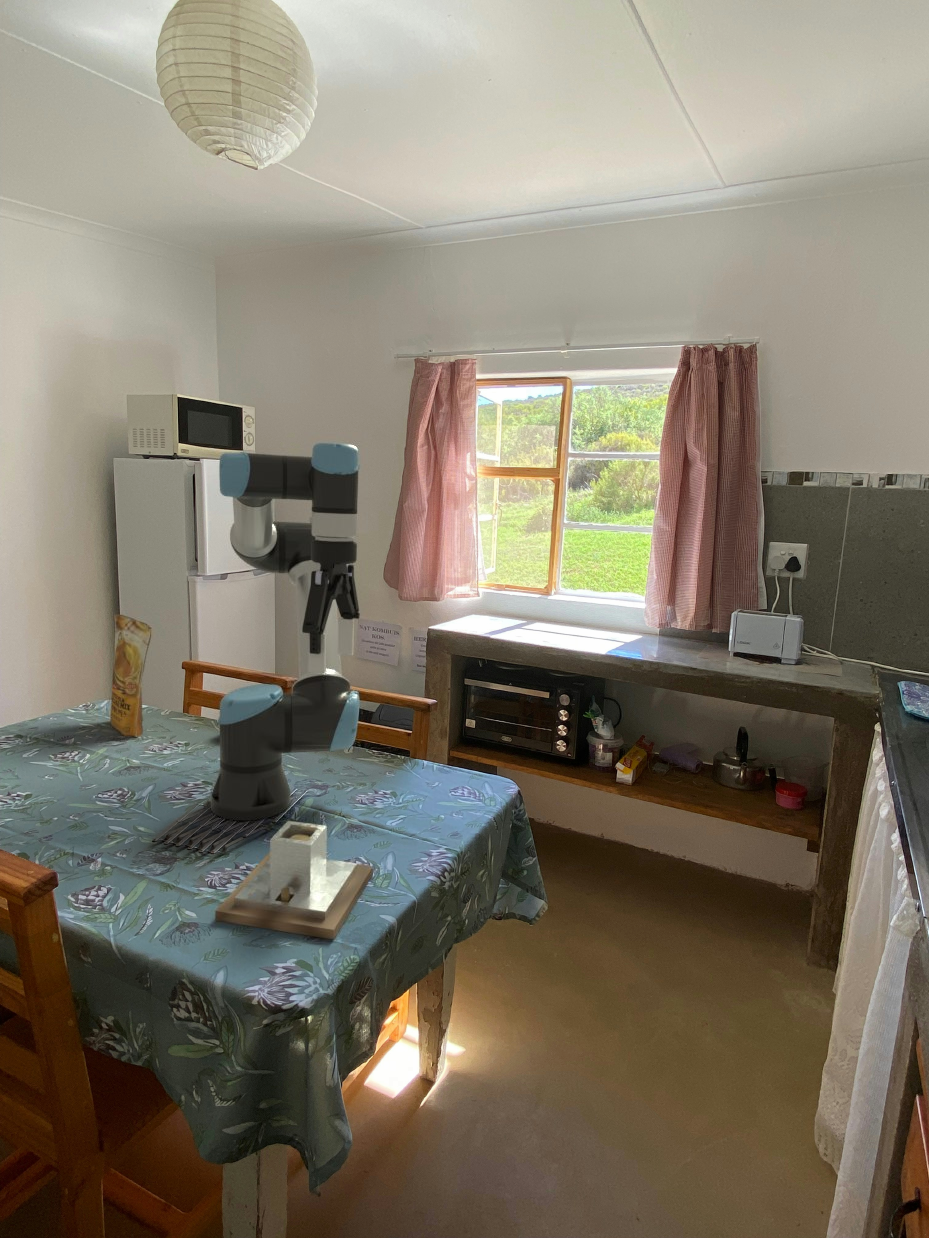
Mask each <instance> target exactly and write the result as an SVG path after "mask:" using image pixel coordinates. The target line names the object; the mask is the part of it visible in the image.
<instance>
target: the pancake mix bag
mask: <svg viewBox="0 0 929 1238" xmlns="http://www.w3.org/2000/svg"><path fill="white" fill-rule="evenodd" d="M113 619H114V645H113V647H114V648H113V650H114V651H113V653H114V655H113V656H114V657H113V667H112V669H113V670H112V684H111V686H112V687H111V697H110V698H111V699H110V700H111V703H110V714H109V716H110V719H109V720H110V724H111V726H112V727H113V728H114V729H115V730H117V731H119V733H120V734H122V735H123V736H125V737H134V738H138V737H140V736H142V735H143V733H144V732H143V731H144V730H143V720H144V719H143V697H142V694H143V693H142V682H143V681H142V680H143V676H144V671H145V665H146V659H147V654H148V649H149V646H150V644H151V639H152V635H153V628H152V627H150V625H149V624H148V623H145V622H143V621H140V620H137V619H136V618H132V617H130V616H126V615H124V614H119V613H117V614H114V615H113Z"/></svg>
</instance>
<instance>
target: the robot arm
mask: <svg viewBox="0 0 929 1238" xmlns="http://www.w3.org/2000/svg"><path fill="white" fill-rule="evenodd" d="M311 455H312V456H302V455H300V456H299V455H281V454H266V453H254V452H253V453H252V452H245V451H240V452H224V453H222V454H221V455H220V457H219V462H218V463H219V464H218V465H219V467H218V469H219V470H218V472H219V473H218V474H219V475H218V476H219V477H218V478H219V492H220V494H221V495H222V496H225V497H228V498H232V508H233V523H232V525H231V527H230V530H229V531H230V532H229V540H230V544H231V548H232V550H233V551H234V553H235V555H237V556H238V557H239V559H241V560H242V561H243V562H244V563H246V564H247V565H249V566H250V567H252V568H254V569H256V570H259V571H261V572H266V573H269V574H287V575H288V580H289V582H290V583H291V584H292V585H293V586H295V599H296V603H295V604H296V621H297V645H298V670H299V671H298V672H299V674H298V675H299V678H298V679H297V680H296V681H295V682H294V683H293V684H292V687H291V690H292V691H291V693H290V692H288V693H287V692H286V693H284V691H283V689H282V687H281V686H280V685H277V684H270V683H259V684H252V685H247V686H243V687H239V688H237V689H234V690H232V691H229V692H228V693H226V694H225V695H224V696H223V697H222V699H221V700H220V703H219V717H218V719H217V722H218V724H219V770H218V773H217V776H216V779H215V783H214V786H213V788H212V791H211V795H210V810H211V811H212V813H213V814H215V815H217V817H218V816H219V817H220V818H223V819H228V820H233V821H255V820H256V821H257V820H262V819H266V818H270V817H274V816H275V815H278V814H280V813H283V812H284V811H285V810H287V809H288V808H289V807H290V805H291V802H292V801H291V800H292V798H291V797H292V794H291V793H292V792H291V787H290V784H289V782H288V781H289V780H288V779H287V776H286V773H285V770H284V767H283V758H282V757H283V754H294V753H295V754H297V753H310V752H311V753H315V752H317V753H318V752H333V751H339V750H340V751H341V750H342V751H343V750H348V749H350V748H351V747H352V746H353V745H354V744H355V740H356V736H357V732H358V731H357V730H358V724H359V713H360V694H359V691H356V690H351V683H350V681H349V680H348V679H347V678H346V677H345V676H343V674H342V659H341V656H350V657H352V656H354V654H355V653H354V648H355V645H354V643H355V620H359V619H360V608H359V601H358V594H357V588H356V582H355V567H354V564H355V563H356V562H357V557H358V555H357V554H358V552H357V551H358V543H357V542H356V540H354V539H355V538H356V537H358V524H359V523H358V517H359V515H358V497H359V496H358V493H359V492H358V491H359V490H358V489H359V472H360V471H359V470H360V462H359V449H358V448H357V446H355V445H353V444H347V443H336V442H335V443H334V442H316V443H315V444H314V445H313V446H312V453H311ZM276 500H295V501H296V500H297V501H311V517H309V520H308V521H309V522H301V521H300V522H299V521H297V522H295V521H276V520H275V521H274V516H275V505H276ZM338 612H339V616H340V618H338Z"/></svg>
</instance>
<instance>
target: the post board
mask: <svg viewBox="0 0 929 1238" xmlns="http://www.w3.org/2000/svg"><path fill="white" fill-rule="evenodd" d="M309 838H310V837H309V836H307V835H304V834H298V835H294V836H292V837H291V838H290V839H295V840H302V841H308V840H309ZM269 859H270V852H268V853H267V854H266V855H265V857H263V858H262V860H261V861H260V862H259V863H258V864H257V866H255V868H253V870H252V871H250V873H249V874H248V875H247V876H246V877H245V879H243V880H242V882H241V883H240V884H239V885H238V886H237V887H235V889H234V890H233V891H232V892H231V893H230V894H229V895H228V897H226V899H225V900H223V902H222V903H221V904H220V905H219V906H218V907H217V909H215V913H214V915H215V917H214V918H215V919H214V920H215V921H218V922H225V923H228V924H229V923H230V924H237V925H242V926H249V927H255V928H259V929H260V928H261V929H265V930H266V929H267V930H274V931H279V932H285V933H291V934H298V935H304V936H309V937H310V936H311V937H315V938H316V937H317V938H323V939H329V940H335V938H336V936H337V934H338V933H339V932H340V929H341V928H342V927H343V925H344V923H345V922H346V919H348V916H349V915H350V913H351V911H352V910H353V908H354V907H355V905H356V903H357V901H358V900H359V899H360V897H361V895H362V894H363V892H364V890H365V889H366V887H367V885H368V883H369V881H370V880H371V878H372V877H373V875H374V874H373V873H374V866H373V865H366V864H360V863H356V864H357V871H356V872H355V874H354V875H353V877H352V879H351V880H350V882H349V883H348V885H347V886H346V888H345V889H344V891H343V892H342V894H341V896H340V897H339V899H338V900H337V902H336V903H335V905H334V906H333V908H332V909H331V911H330V913H329V914H328V916H327V917H326V919H320V918H313V917H307V916H301V915H294V914H288V913H281V912H275V911H269V910H262V909H256V908H249V907H243V906H237V905H234V897H235V896H236V895H237V894H238V893H239V892H240V891H241V890H242V889H243V888H244V886H245V885H246V884H247V883H248V882H249V881H250V880H251V879H252V878H253V877H254V875H255V874H256V873H257V872H258V871H259V870H260V869H261V868H262V867H263V866H264V865H265V863H266V862H267V861H268V860H269ZM289 896H290V889H289V888H287V887H285V888H282V889H281V900H280V901H281V902H288V903H289V902H290V901H289Z"/></svg>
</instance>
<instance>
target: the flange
mask: <svg viewBox="0 0 929 1238" xmlns="http://www.w3.org/2000/svg"><path fill="white" fill-rule="evenodd" d="M327 828H328V827H327V825H322V824H315V823H308V822H301V821H291V820H287V821H286V822H285V824H283V826H281V827H280V829H279V830H278V831H277V832H276V833H275V834H274V835H273V836H272V837H271V838H270V839H269V843H270V845H269V853H270V859H269V860H268V861H267V862H266V863H265V865H264V866H263V867H262V868H261V869H260V870H259V871H258V872H257V873H256V874H255V875H254V877H253V878H252V879H251V880H250V881H249V882H248V883H247V884H246V885H245V886H244V888H243V889H242V890H241V891H240V892H239V893H238V894H237V895H236V896H235V897H234V905H237V906H243V907H249V908H256V909H262V910H269V911H275V912H281V913H288V914H294V915H301V916H307V917H313V918H320V919H326V917H327V916H328V914H329V913H330V911H331V909H332V908H333V906H334V905H335V903H336V902H337V900H338V899H339V897H340V896H341V894H342V892H343V891H344V889H345V888H346V886H347V885H348V883H349V882H350V880H351V879H352V877H353V875H354V874H355V872H356V871H357V864H358V863H356V862H349V861H342V860H341V861H340V860H336V859H335V860H334V859H327V845H328V844H327V843H328V841H327V836H328V835H327V834H328V832H327V830H328V829H327ZM298 834H304V835H307V836H309V837H310V838H309V840H308V841H302V840H295V839H290V838H291V837H292V836H294V835H298ZM285 887H287V888H289V889H290V896H289V901H290V902H289V903H288V902H281V901H280V900H281V889H282V888H285Z"/></svg>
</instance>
